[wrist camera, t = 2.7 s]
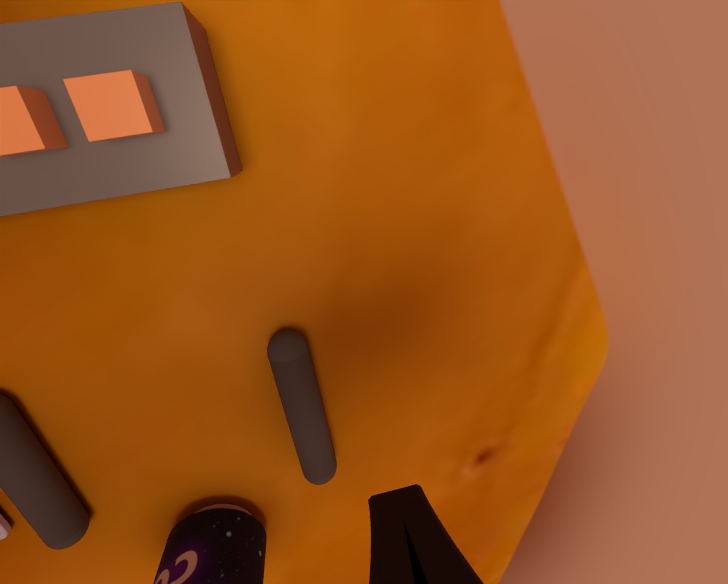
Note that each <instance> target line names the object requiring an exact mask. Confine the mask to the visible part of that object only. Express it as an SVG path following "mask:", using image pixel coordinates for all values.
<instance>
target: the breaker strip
mask: <svg viewBox="0 0 728 584" xmlns="http://www.w3.org/2000/svg"><path fill="white" fill-rule="evenodd" d="M240 171H242V167H241V163H240V159H239V156H238V152H237V148H236V144H235V141H234V137H233V133H232V129H231V126H230V122H229V118H228V115H227V111H226V107H225V103H224V100H223V96H222V92H221V88H220V85H219V81H218V77H217V74H216V70H215V66H214V62H213V59H212V55H211V51H210V47H209V44H208V40H207V36H206V33H205V29H204V27H203V26H202V25H201V24H200V23H199V22H198V21H197V19H196V18H195V17H194V16H193V15H192V14H191V13H190V11H189V10H188V9H187V8H186V7H185V6H184V4H183V3H182V2H175V3H167V4H159V5H151V6H143V7H135V8H127V9H118V10H110V11H102V12H94V13H86V14H78V15H70V16H62V17H54V18H46V19H38V20H30V21H22V22H14V23H6V24H0V217H1V216H7V215H12V214H18V213H24V212H30V211H36V210H42V209H48V208H54V207H60V206H66V205H72V204H78V203H84V202H90V201H96V200H102V199H107V198H113V197H119V196H125V195H131V194H137V193H143V192H149V191H155V190H161V189H167V188H173V187H179V186H185V185H191V184H197V183H202V182H208V181H214V180H220V179H226V178H231V177H233V176H234V175H236V174H237V173H239V172H240Z"/></svg>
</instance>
